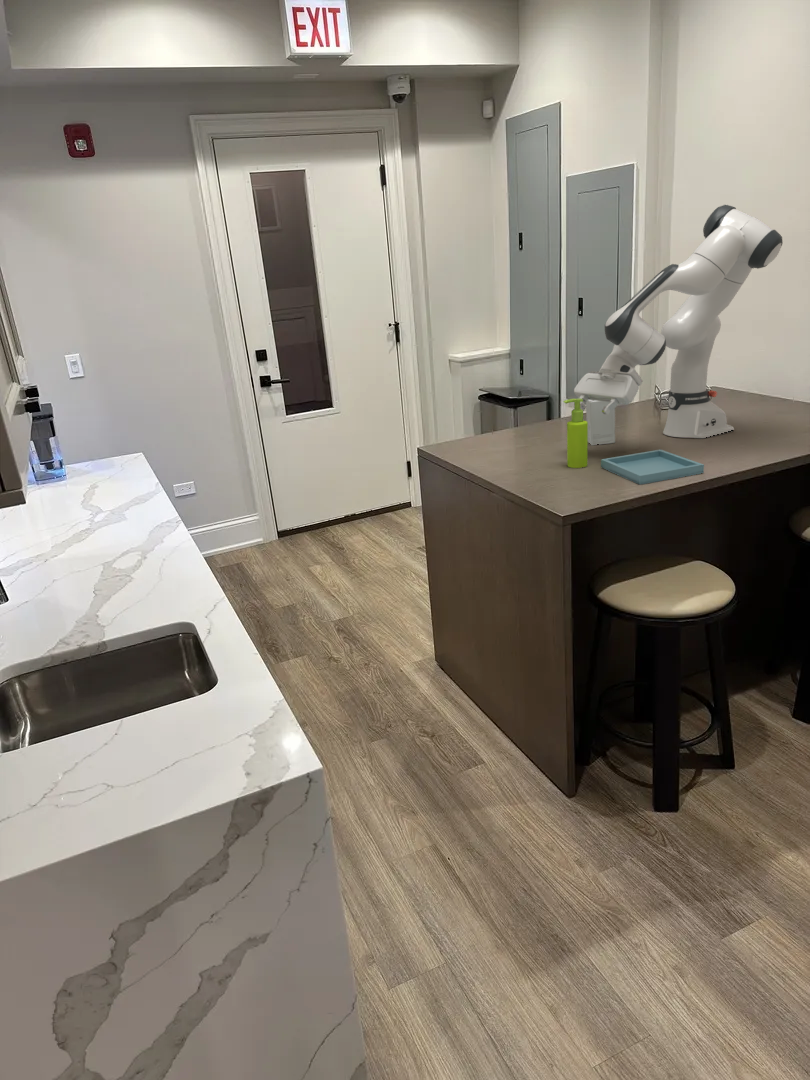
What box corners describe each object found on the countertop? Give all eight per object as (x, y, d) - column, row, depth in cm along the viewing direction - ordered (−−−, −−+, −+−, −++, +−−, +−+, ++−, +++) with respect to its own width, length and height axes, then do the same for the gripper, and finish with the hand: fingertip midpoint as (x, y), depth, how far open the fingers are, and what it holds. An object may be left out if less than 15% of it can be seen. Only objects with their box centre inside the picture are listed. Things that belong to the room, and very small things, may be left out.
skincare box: (610, 439, 246) (610, 395, 241) (615, 443, 240) (616, 398, 235) (585, 441, 246) (585, 397, 241) (590, 446, 240) (590, 400, 235)
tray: (660, 457, 221) (660, 449, 220) (703, 473, 203) (704, 464, 202) (600, 467, 216) (601, 459, 215) (639, 484, 198) (640, 475, 197)
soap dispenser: (561, 464, 223) (561, 398, 216) (583, 462, 223) (584, 396, 216) (567, 469, 218) (566, 401, 210) (590, 466, 218) (590, 399, 211)
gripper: (583, 364, 225) (560, 401, 223) (637, 368, 209) (613, 408, 207) (593, 376, 229) (571, 413, 227) (647, 382, 213) (624, 421, 211)
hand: (592, 411), depth 217 cm, fingers open, 8 cm apart
